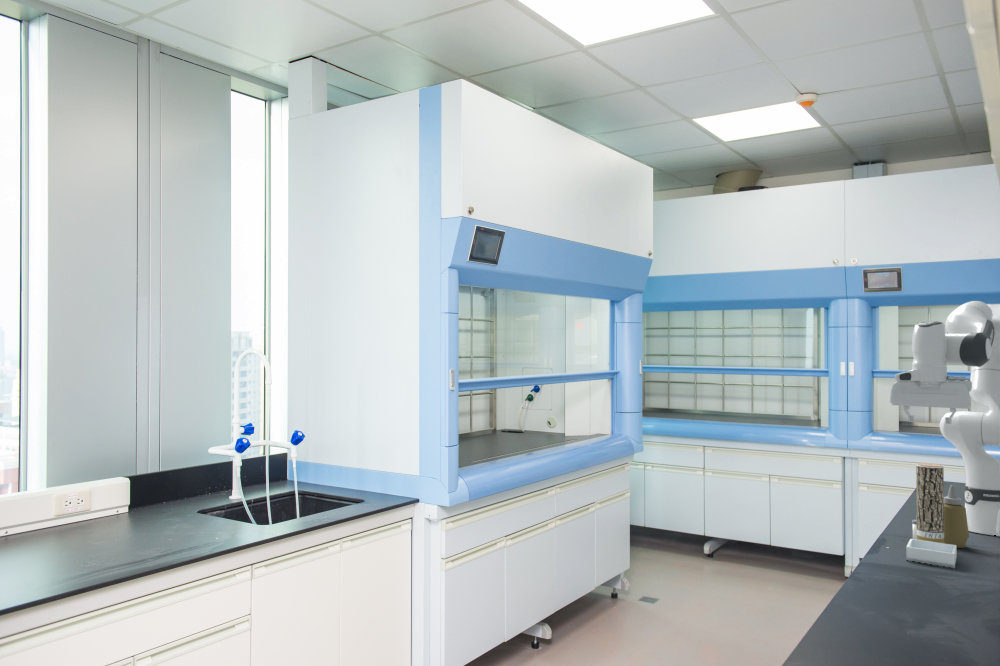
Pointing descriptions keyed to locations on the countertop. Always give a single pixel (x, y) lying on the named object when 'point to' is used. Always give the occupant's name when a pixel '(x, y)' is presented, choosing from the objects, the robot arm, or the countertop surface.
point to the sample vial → (914, 529)
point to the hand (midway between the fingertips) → (929, 422)
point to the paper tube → (930, 502)
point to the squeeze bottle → (955, 520)
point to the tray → (931, 553)
